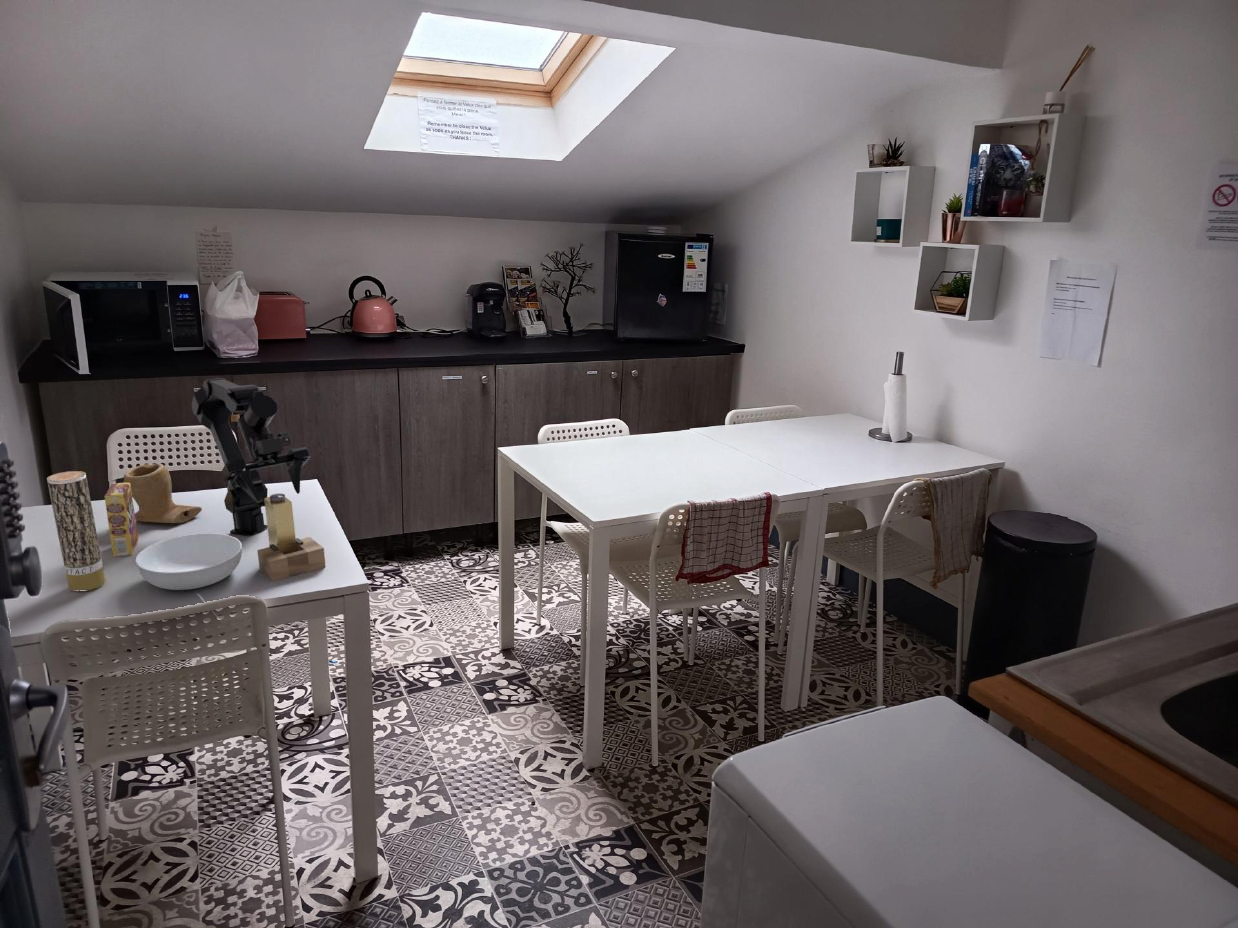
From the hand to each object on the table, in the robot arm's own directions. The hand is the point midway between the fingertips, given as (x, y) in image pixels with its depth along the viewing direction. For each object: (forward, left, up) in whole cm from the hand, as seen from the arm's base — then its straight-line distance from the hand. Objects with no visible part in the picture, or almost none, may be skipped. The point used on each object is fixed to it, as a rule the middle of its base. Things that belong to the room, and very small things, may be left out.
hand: (278, 497), depth 191 cm
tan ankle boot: (-44, +9, -15) cm, 48 cm away
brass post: (+1, -2, -15) cm, 15 cm away
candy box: (-38, -8, -15) cm, 42 cm away
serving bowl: (-12, -16, -16) cm, 25 cm away
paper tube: (-30, -26, -15) cm, 43 cm away
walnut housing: (+4, -4, -15) cm, 16 cm away
